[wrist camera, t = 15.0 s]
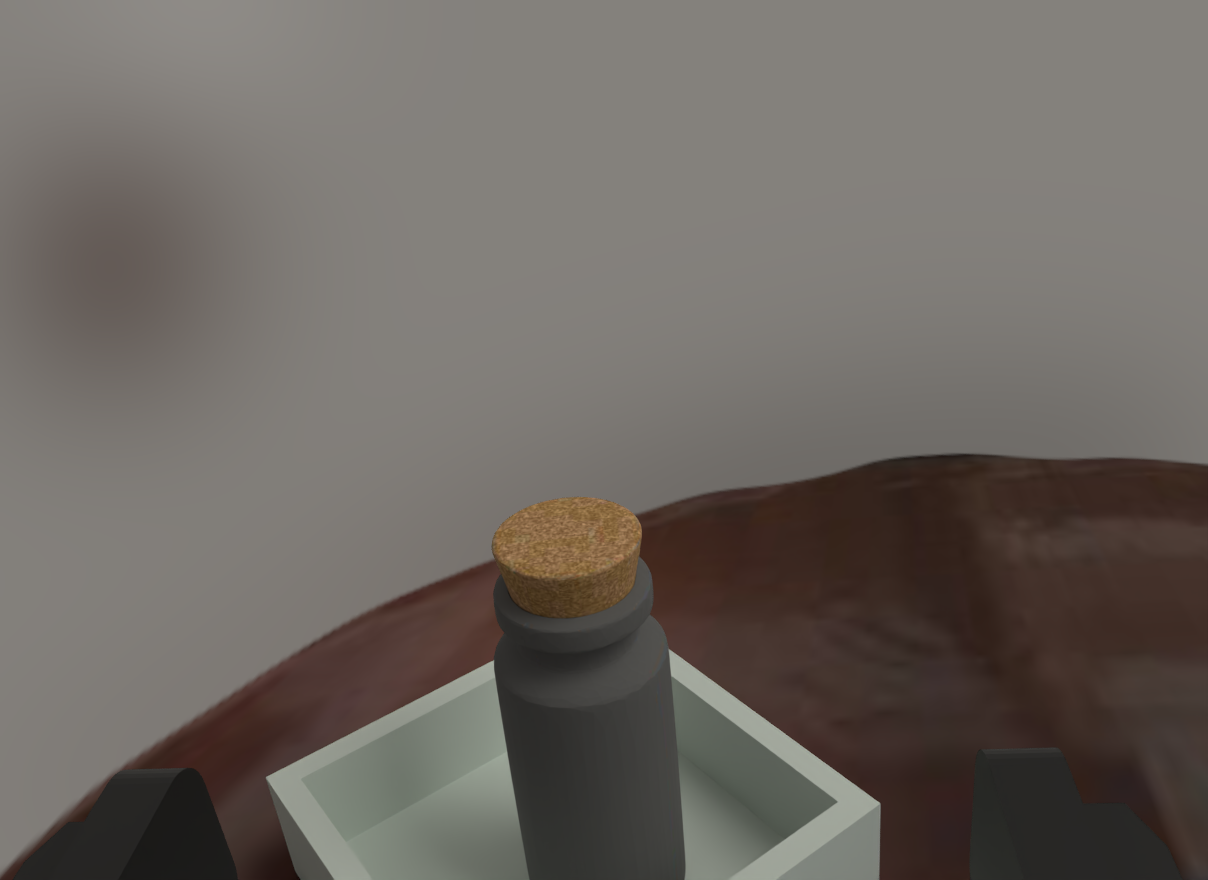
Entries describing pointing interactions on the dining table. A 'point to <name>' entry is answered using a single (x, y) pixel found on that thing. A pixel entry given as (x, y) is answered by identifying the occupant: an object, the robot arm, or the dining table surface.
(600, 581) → the bottle
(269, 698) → the dining table surface
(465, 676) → the bin
